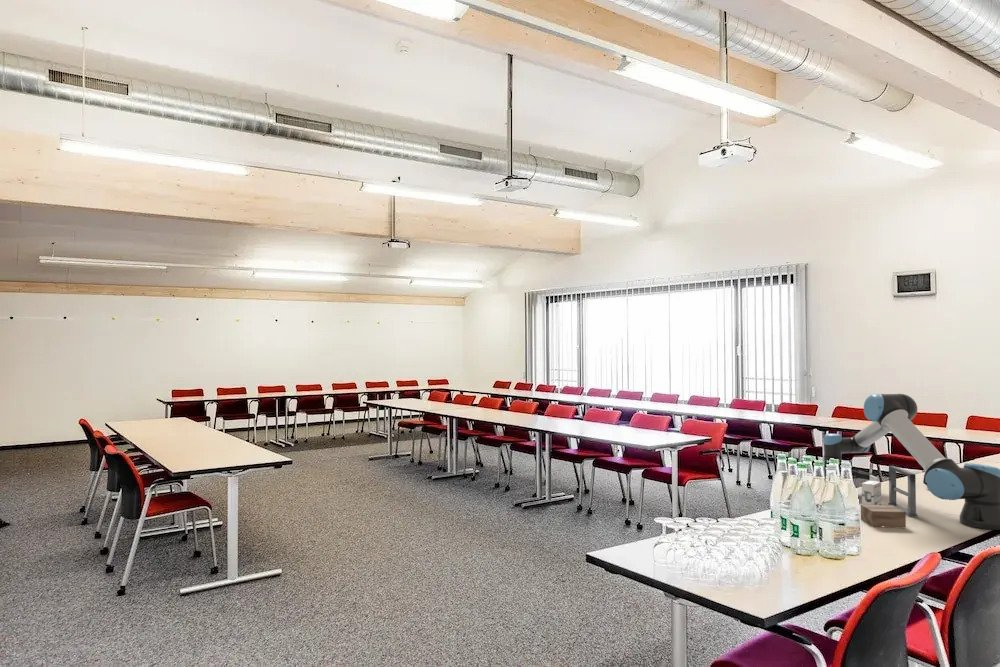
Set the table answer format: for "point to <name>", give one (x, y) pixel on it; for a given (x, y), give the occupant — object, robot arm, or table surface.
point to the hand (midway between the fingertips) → (860, 480)
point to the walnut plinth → (883, 515)
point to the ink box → (871, 493)
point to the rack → (911, 490)
